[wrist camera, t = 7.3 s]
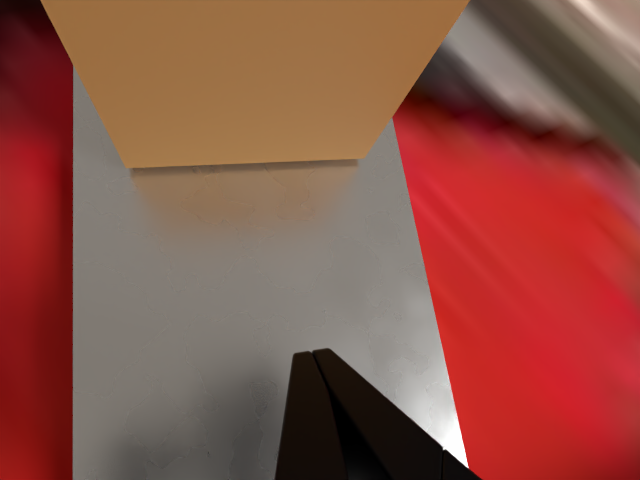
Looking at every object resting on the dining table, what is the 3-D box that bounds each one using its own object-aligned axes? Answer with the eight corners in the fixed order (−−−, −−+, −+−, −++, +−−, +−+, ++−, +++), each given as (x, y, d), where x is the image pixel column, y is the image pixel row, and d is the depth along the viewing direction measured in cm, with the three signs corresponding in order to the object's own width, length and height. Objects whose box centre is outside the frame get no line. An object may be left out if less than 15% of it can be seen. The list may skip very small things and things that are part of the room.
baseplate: (475, 556, 16) (628, 674, 10) (83, 677, 13) (-48, 963, 7) (367, 46, 23) (421, -77, 16) (80, 38, 19) (10, -121, 13)
